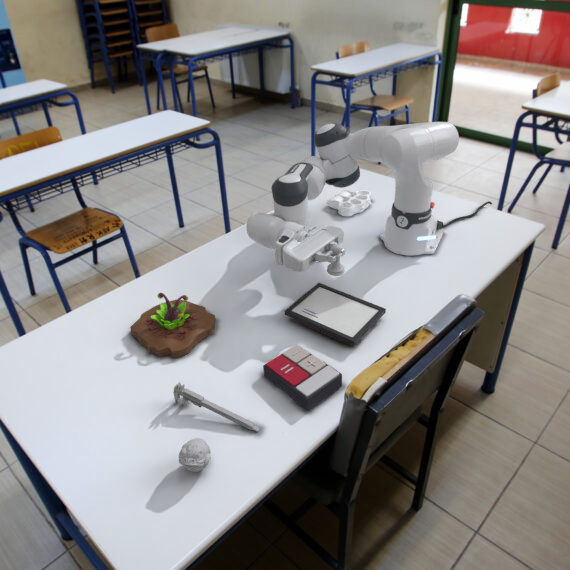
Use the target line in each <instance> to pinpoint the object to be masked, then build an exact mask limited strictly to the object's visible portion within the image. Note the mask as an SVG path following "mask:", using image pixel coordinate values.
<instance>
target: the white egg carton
mask: <svg viewBox="0 0 570 570" xmlns="http://www.w3.org/2000/svg"><path fill="white" fill-rule="evenodd" d="M326 205H327V206H328V207H329V208H332V209H334V210H336V211H337V210H338V211H337V213H338V215H340V216H341V217H353V216H354V215H356V214H360V213H363V212H364V210H366V209H368V208H369V206H370V205H373V202H372V192H371V191H369V190H366V189H359V190H350V189H344V190H342V191H341V192H339V193H338V194H337V195H336V194H335V195H334V196H333V197H332V198H330V199H328V200H327V201H326Z"/></svg>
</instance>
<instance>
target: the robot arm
mask: <svg viewBox="0 0 570 570" xmlns="http://www.w3.org/2000/svg"><path fill="white" fill-rule="evenodd" d="M459 141H460V135H459V131H458V129H457V128H456V126H455V125H454V124H453V123H451V122H449V121H428V122H426V121H425V122H417V123H408V124H406V123H405V124H399V125H398V124H397V125H378V126H377V125H376V126H369V127H364V128H362V129H359V130H357V131H355V132H353V133H351V128H350V127H348V126H344V125H342V124H340V123H336V122H333V123H327V124H324V125H323V126H321V127H320V128H319V129H317V130H316V132H314V134H313V142H314V146H315V147H316V150H317V153H318V156H316V155H310V156H307V157H305V158H304V159H303V160H301V161H300V162H296V163H294V164H292V166H291V167H290V168H289V169H288V170H287V171H286V172H285V173H284V174H283V175H281V176H278V178H276V179H275V181H274V182H273V183H272V185H271V195H272V199H273V212H272V213H264V212H260V211H259V212H258V211H254V212H252V213H250V215H249V217H248V219H247V222H246V233H247V236H248V238H249V239H251V241H253V242H255V243H256V244H259V245H261V246H263V247H266V248H269V249H275V262H276V264H277V265H279V266H283V267H284V268H286V269H288V270H290V271H293V272H297V273H301V272H305V271H306V270H308V269H309V268H310V267H311V266H313V265H314V264H315V263H316V262H318V263H329V264H331V263H334V262H335V261H336V255H333V254H331V252H332V247H333V245H336V244H338V245H340V244H342V243H343V242H344V234H345V233H344V231H343V229H342V228H339V227H335V226H332V225H325V224H320V225H318V226H314V227H313V228H312V229H309V202H310V201H313V200H315V199H316V198H318V197H319V196H320V195H321V194H322V192H323V190H324V188H325V185H328V186H333V187H335V188H340V189H342V188H343V189H344V188H347V187H349V186H352V185H354V184H355V183H357V182H358V180H359V179H360V177H361V169H360V166H359V165H358V160H357V159H362V160H364V161H369V162H377V163H378V162H379V163H383V164H384V165H385V166H386V167H387V168H388V169H389V170H391V172H392V174H393V176H394V182H395V183H394V184H395V187H394V201H393V202H392V205H391V211H390V213H391V214H390V215H388V216H387V218H386V223H385V228H384V232H382V233H381V234H380V240H381V241H383V243H384V247H385V248H386V249H387V250H389V251H390V252H392V253H394V254H397V255H401V256H407V257H408V256H411V257H412V256H413V257H414V256H420V255H433V254H435V252H436V249H437V248H438V245H439V244H440V242H441V240H442V237H443V234H444V231H442V230H441V229H442V228H446V227H448V226H450V225H451V224H453V223H454V222H457V221H459V220H464V219H468V218H472V217H473V216H475V215H476V214H478V212H479V211H480V210H481V209H482V208H484V207H485V206H486V205H488V204H489V205H493V202H492V201H486V202H484V203H483V204H481V205H480V206H478V207H477V208H476V209H475V211H474V212H473V213H471V214H469V215H464V216H459V217H455V218H454V219H452V220H450V221H449V222H447V223H446V224H444V222H443V221H440V220H438V219H437V217H435V216H434V215H433V214H432V211H433V209H434V207H435V204H436V203H435V201H432V196H433V190H434V183H433V181H432V179H431V178H430V177H429V176H428V175H426V174H425V173H424V166H425V165H426V164H428V163H431V162H435V161H439V160H442V159H444V158H446V157H448V156H449V155H451V154H453V153H454V152H455V151H456V150H457V149H458V146H459ZM341 248H342V250H341V253H342V255H341V256H340V257H343V256H344V255H345V254H346V249H345V248H344V247H342V246H341ZM328 253H329V254H328Z"/></svg>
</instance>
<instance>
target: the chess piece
mask: <svg viewBox="0 0 570 570" xmlns="http://www.w3.org/2000/svg"><path fill="white" fill-rule="evenodd" d="M341 247H342V246H341V245H340V244H339V245H338V244H336V245H333V247H332V251H331V252H330V254H333V255H336V261H335V262H334V263H329V264H328V265H327V267H326V273H327V274H328V275H330V276H332V277H340V276H342V275H343V274H345V272H346V271H345V266H344V264H342V263H341V257H342V256H341V255H342V253H341V250H342V248H343V247H342V248H341Z"/></svg>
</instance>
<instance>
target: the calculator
mask: <svg viewBox="0 0 570 570" xmlns="http://www.w3.org/2000/svg"><path fill="white" fill-rule="evenodd" d="M262 368H263V376H264V377H266V378H267V379H268V380H270V381H271V383H273V384H275V385H276V386H277V387H278V388H280V389H281V390H282V391H284V392H285V393H286V394H287V395H288V396H290V397H291V398H292V399H293V400H294V401H295V403H297V404H298V405H299V406H301V407H302V408H303V409H304V410H306V411H309V410H311V409H313V408H314V407H315V406H317V405H318V404H319V403H321V402H322V401H324V400H325V399H326V398H329V396H330V395H332V394H334V393H335V392H337V391H338V390H339V389H340V388H342V387H343V373H341V372H340V371H338V370H337V369H335V368H334V367H332V366H331V365H329V364H328V363H326V362H325V361H323V360H322V359H320V358H318V357H317V356H316V355H314V354H313V353H311V352H310V351H308V350H306V349H305V348H303V346H301V345H299V344H295V345H293V346H292V347H290V348H289V349H287V350H285V351H284V352H283V353H281V354H279V355H277V356H276V357H274V358H272V359H271V360H269V361H268V362H266V363H265V364H263V366H262Z"/></svg>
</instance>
